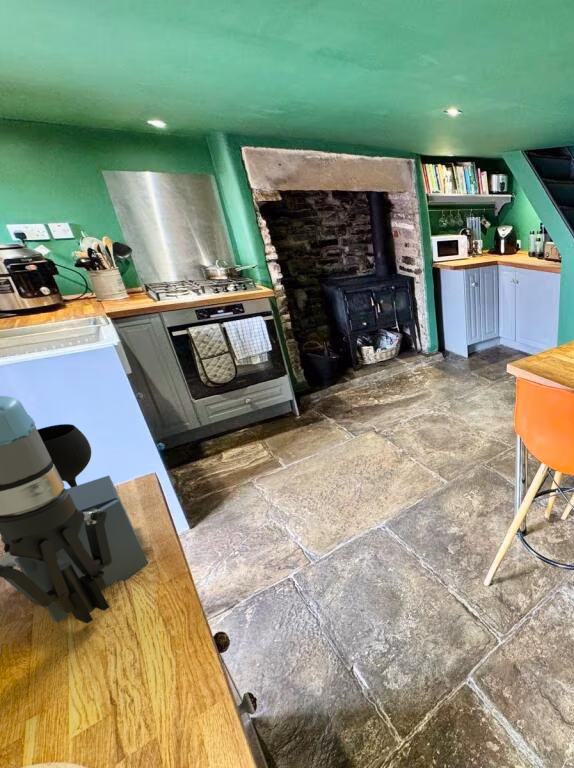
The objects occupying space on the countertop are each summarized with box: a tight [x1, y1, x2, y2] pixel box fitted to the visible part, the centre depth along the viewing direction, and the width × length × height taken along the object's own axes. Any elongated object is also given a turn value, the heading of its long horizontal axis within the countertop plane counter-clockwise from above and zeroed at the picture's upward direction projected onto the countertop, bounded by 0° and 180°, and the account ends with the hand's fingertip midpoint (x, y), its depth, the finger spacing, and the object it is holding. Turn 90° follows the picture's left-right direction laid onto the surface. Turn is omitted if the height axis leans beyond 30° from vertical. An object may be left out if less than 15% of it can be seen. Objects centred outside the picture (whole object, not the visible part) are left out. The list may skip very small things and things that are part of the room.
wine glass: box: [37, 423, 92, 488], centre depth 91 cm, size 10×10×20 cm
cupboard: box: [0, 475, 142, 547], centre depth 76 cm, size 10×14×16 cm
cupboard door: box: [16, 500, 149, 623], centre depth 71 cm, size 7×14×16 cm, turn 164°
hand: (92, 612), depth 67 cm, fingers closed on cupboard door, 2 cm apart
